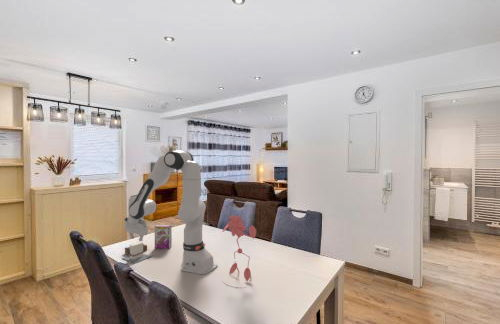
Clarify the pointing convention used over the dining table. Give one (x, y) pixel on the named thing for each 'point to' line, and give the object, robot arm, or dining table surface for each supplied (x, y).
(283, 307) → the dining table surface
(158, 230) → the candy bar box
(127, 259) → the mat
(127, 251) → the wooden card holder
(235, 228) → the red stick figure
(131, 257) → the white upright block
